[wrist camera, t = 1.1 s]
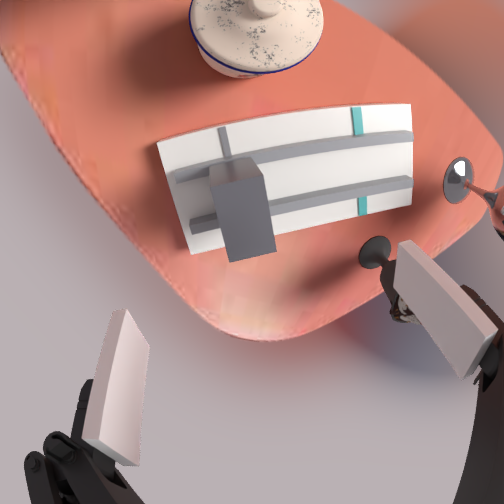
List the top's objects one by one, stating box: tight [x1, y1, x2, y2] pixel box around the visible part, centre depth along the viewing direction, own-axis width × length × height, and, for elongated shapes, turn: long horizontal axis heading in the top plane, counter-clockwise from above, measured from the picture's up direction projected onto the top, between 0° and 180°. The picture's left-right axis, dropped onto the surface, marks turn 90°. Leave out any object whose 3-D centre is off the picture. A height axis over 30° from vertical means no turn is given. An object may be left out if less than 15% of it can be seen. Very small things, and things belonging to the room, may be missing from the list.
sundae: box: [359, 236, 421, 324], centre depth 29 cm, size 7×7×15 cm
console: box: [157, 103, 414, 255], centre depth 27 cm, size 12×26×4 cm, turn 100°
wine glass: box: [443, 157, 504, 241], centre depth 26 cm, size 8×8×15 cm
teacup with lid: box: [189, 0, 323, 78], centre depth 16 cm, size 12×9×12 cm
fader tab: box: [209, 157, 277, 262], centre depth 23 cm, size 6×4×8 cm, turn 11°
